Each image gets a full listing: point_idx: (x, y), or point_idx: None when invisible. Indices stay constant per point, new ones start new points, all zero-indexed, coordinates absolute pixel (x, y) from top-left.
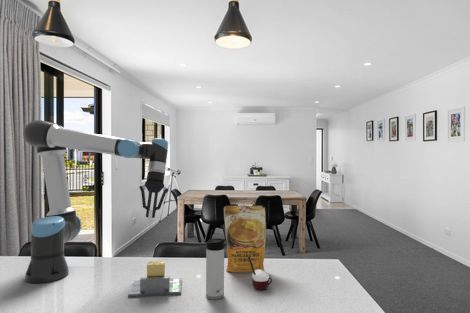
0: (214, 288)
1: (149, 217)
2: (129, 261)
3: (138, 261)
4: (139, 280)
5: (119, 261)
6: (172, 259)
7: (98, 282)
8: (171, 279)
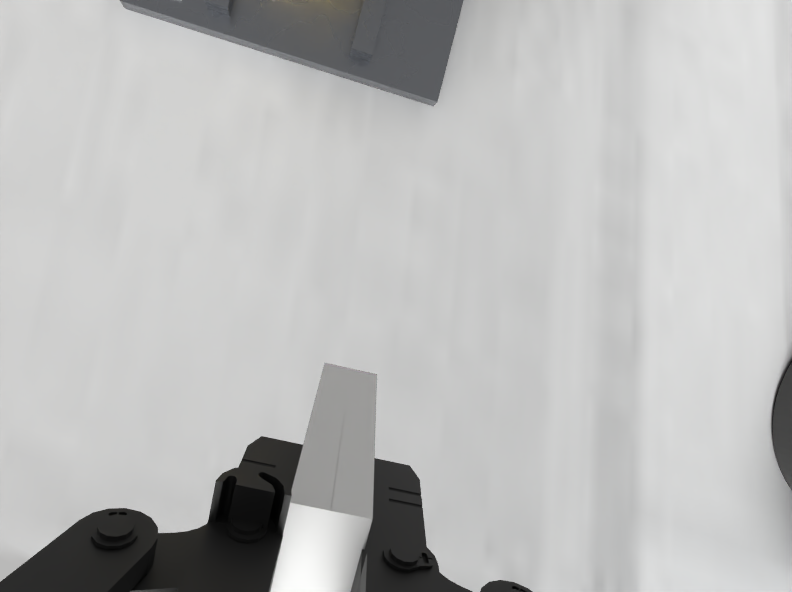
0: None
1: (352, 424)
2: None
3: None
4: (406, 89)
5: None
6: None
7: (623, 210)
8: (196, 13)
